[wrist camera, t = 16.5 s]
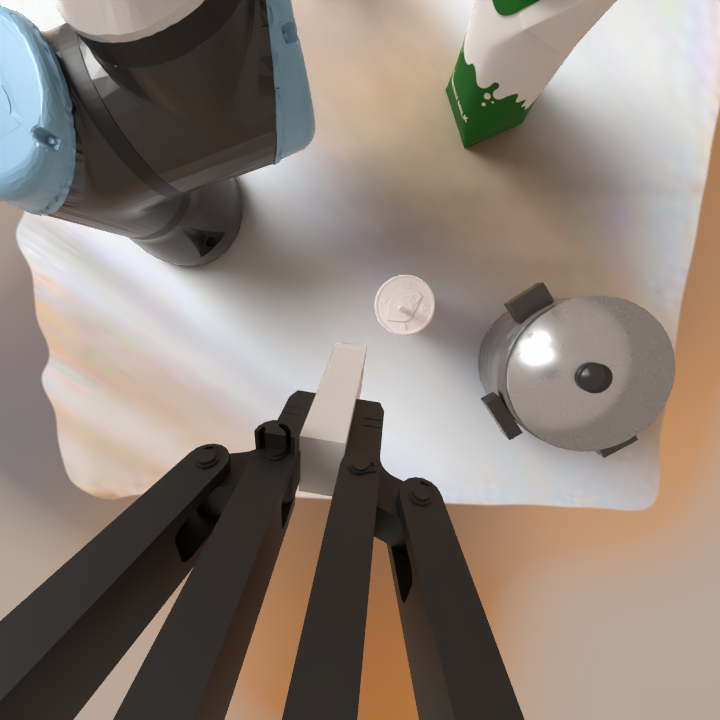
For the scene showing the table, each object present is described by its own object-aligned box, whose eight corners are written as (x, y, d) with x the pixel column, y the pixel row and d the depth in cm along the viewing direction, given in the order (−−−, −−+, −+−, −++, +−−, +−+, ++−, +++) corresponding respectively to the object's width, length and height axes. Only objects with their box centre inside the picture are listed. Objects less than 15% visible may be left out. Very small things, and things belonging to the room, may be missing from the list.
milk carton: (435, 86, 39) (489, -140, 19) (510, 50, 38) (648, -227, 18) (459, 159, 40) (533, 17, 20) (533, 127, 39) (686, -57, 19)
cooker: (555, 259, 41) (603, 245, 32) (635, 392, 43) (700, 414, 34) (435, 337, 44) (448, 345, 35) (514, 459, 46) (546, 496, 37)
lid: (618, 264, 32) (634, 261, 30) (694, 396, 34) (714, 401, 32) (476, 353, 34) (481, 356, 32) (553, 473, 36) (563, 482, 34)
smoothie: (366, 301, 44) (358, 298, 30) (405, 270, 43) (415, 253, 29) (395, 339, 44) (400, 354, 30) (434, 310, 43) (458, 311, 29)
